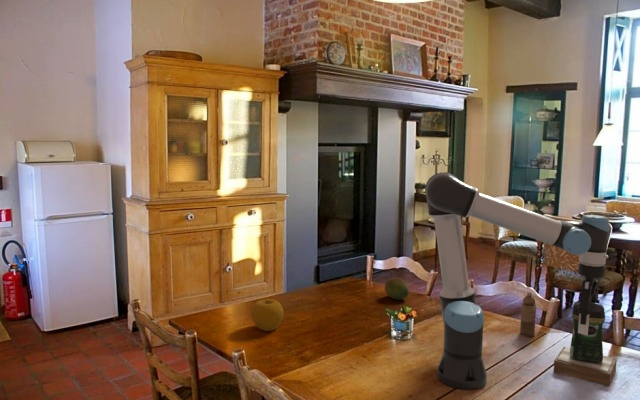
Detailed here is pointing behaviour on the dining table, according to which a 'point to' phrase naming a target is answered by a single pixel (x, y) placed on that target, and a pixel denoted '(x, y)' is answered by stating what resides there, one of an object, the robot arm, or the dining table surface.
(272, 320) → the apple
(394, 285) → the fruit
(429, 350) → the dining table surface
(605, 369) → the plinth
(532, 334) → the pepper mill
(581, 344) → the coffee jar
